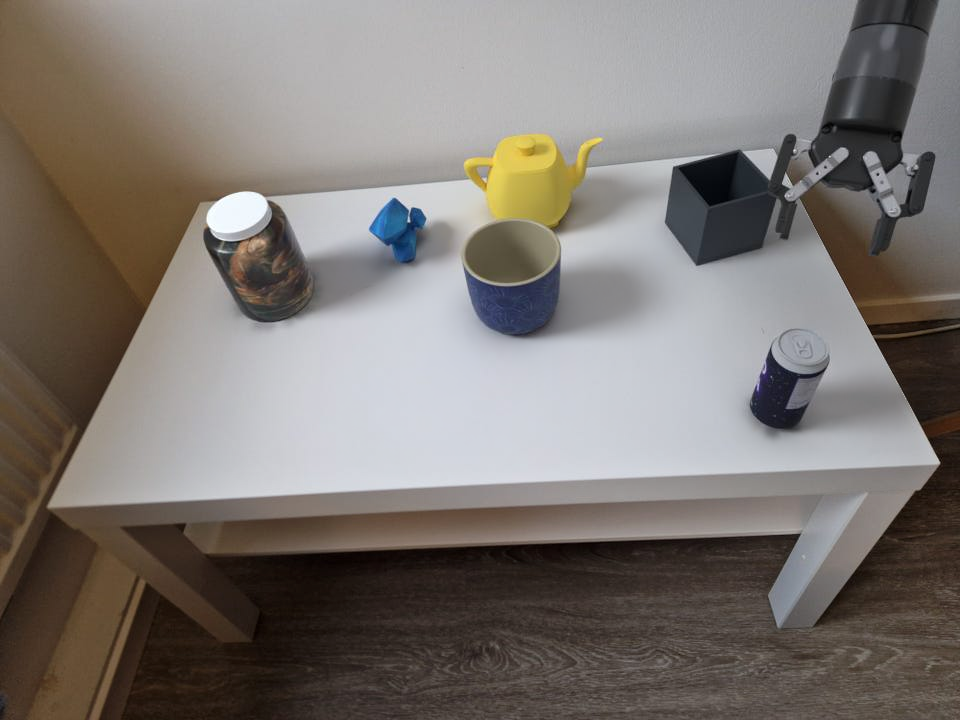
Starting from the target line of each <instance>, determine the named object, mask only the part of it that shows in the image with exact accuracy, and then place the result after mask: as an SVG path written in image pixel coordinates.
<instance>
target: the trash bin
mask: <svg viewBox="0 0 960 720" xmlns="http://www.w3.org/2000/svg"><path fill="white" fill-rule="evenodd" d="M769 182H770V178H768V176H766V175H765V174H764V173H763V171H761V169H760V168H759V167H758V166H757V165H756V164H755V163H754V162H753V161H752V160H751V159H750V158H749V157H748V156H747V155H746V154H745V153H744V151H742V150H741V149H736V150H731V151H727V152H723V153H720V154H715V155H712V156H708V157H705V158H701V159H697V160H694V161H690V162H685V163H681V164H677V165H674V166H672V171H671V177H670V184H669V190H668V191H669V192H668V197H667V203H666V204H667V205H666V212H665V219H664V224H665V225H666V227H667V228H668V229H669V231H670V232H671V233H672V235H673V236H674V237H675V239H676V240H677V241H678V243H679V244H680V245H681V247H682V249H683V250H684V251H685V252H686V253H687V255H688V256H689V258H690V259H691V261H692V262H693V263H694V265H695V266H700V265H704V264H708V263H712V262H714V261H718V260H722V259H726V258H729V257H733V256H737V255H739V254H740V255H741V254H743V253H747V252H751V251H755V250H758V249H762V248H763V246H764V242H765V240H766V237H767V233H768V229H769V226H770V223H771V219H772V216H773V213H774V209H775V207H776V203H777V200H778V198H776V197H774V196H771V195H769V194H768V193H767V188H768V185H769Z"/></svg>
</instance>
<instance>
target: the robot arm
mask: <svg viewBox="0 0 960 720" xmlns="http://www.w3.org/2000/svg"><path fill="white" fill-rule="evenodd" d="M940 2H941V0H857V1H856V4H855V8H854V11H853V15H852V18H851V22H850V26H849V29H848V35H847V37H846V40H845V42H844V45H843V48H842V50H841V52H840V54H839V58H838V60H837V63H836V67H835V71H834V72H833V74H832V78H831V86H830V89H829V92H828V96H827V100H826V103H825V107H824V110H823V114H822V118H821V121H820V125H819V128H818V132H817V135H816V137H815V138H814V139H812V140H809V139H803V138H798V137H797V135H795V134H793V133H788V134H786V135H785V136H784V137H783V141H782V143H781V145H780V146H781V147H780V149H779V151H778V155H777V158H776V161H775V164H774V167H773V169H772V173H771V175H770V178H769V180H770V182H769V185H768V188H767V193H768V194H769V195H771V196H774V197H776V198H777V200H779V201H780V209H779V213H778V216H777V219H776V224H775V227H774V230H775V234H777V235H779V239H778V240H779V241H783V242H787V241H788V239H789V236H790V233H791V229H792V225H793V221H794V218H795V215H796V211H797V208H798V203H797V200H799V199H800V198H802V196H804V195H805V194H806V193H808V192H809V191H810V190H811V189H813V188H814V187H815V186H816V185H817V184H819V183H822V184H823V185H824V186H825V187H826V188H829V189H840V188H841V189H842V188H844V189H846V190H848V191H851V192H857V193H860V192H863V191H866V190H867V192H868V194H869V195H870V198H871V200H872V201H873V202H874V203H875V206H876V207H877V209H878V212H879V213H880V217H879V218H878V219H877V220H876V223H875V227H874V231H873V232H872V233H873V234H872V236H871V240H870V244H869V247H868V251H867V257H879V255H880V254H881V253H883V252H886V251H887V250H888V248H889V247H890V244H891V240H892V238H893V235H894V231H895V228H896V224H897V222H898V220H899V219H902V218H903V219H904V218H912V217H914V216H916V215H919V214H921V213H923V211H924V209H925V205H926V200H927V196H928V193H929V187H930V183H931V178H932V174H933V171H934V167H935V162H936V159H937V158H936V154H935V153H934V152H933V151H930V150H929V151H925V152H923V153H915V152H904V151H903V147H902V140H903V137H904V133H905V131H906V127H907V124H908V123H907V122H908V120H909V117H910V113H911V110H912V107H913V103H914V100H915V97H916V93H917V89H918V88H919V87H918V86H919V83H920V79H921V77H922V73H923V69H924V65H925V61H926V57H927V55H926V54H927V47H928V43H929V38H930V34H931V31H932V28H933V26H934V25H933V24H934V21H935V18H936V14H937V10H938V9H939V5H940ZM803 153H807V154H808V157H809V160H810V161H811V164H812V165H813V169H812V170H811V171H810V172H808V173H807V174H806V175H805V176H804V177H803V178H802V179H800V180H799V181H798V182H797V183H796V184H794V185H793V186H792V187H791V188H790V187H788V186H786V185H784V184H783V182H784V179H785V176H786V173H787V170H788V168H789V165H790V161H796V160H798V159H799V158H800V156H801V154H803ZM899 165H902V166H903V167H904V174H905V176H907V177H910V179H909V184H908V188H907V193H906V197H905V200H904V203H901V204H899V202H898V200H897V198H896V196H895V194H894V188H893V186H892V184H891V182H890V180H889V177H888V174H889V173H890V172H892V171H893V170H894V169H895V168H896V167H898V166H899Z"/></svg>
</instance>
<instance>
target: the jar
mask: <svg viewBox="0 0 960 720" xmlns="http://www.w3.org/2000/svg"><path fill="white" fill-rule="evenodd" d="M202 233H203V234H202V239H203V243H204V247H205V249H206V251H207V252H208V255H209V257H210V259H211V260H212V263H213V264H214V266H215V268H216V270H217V272H218V273H219V276H220V277H221V280H223V282H224V285H225V286H226V288H227V290H228V291H229V293H230V295H231V297H232V298H233V301H234V302H235V304H236V306H237V307H238V309H239V310H240V312H241V313H242V314H243V315H244V316H245V317H246V318H248V319H251V320H252V321H256V322H261V323H271V322H278V321H280V320H285V319H286V318H289V317H291V316H293V315H294V314H296V313H298V312H299V311H301V309H303V308H304V307H305V306H306V305H307V304H308V302H309V301H310V299H311V298H312V296H313V294H314V289H315V281H314V277H313V275H312V273H311V270H310V267H309V265H308V262H307V260H306V257H305V255H304V253H303V250H302V248H301V246H300V242H299V241H298V238H297V235H296V234H295V231H294V229H293V226H292V225H291V223H290V220H289V218H288V216H287V214H286V212H285V211H284V209H283V208H282V207H281V206H280V205H279V204H277V203H276V202H274V201H273V200H270V199H266V197H265V196H264V195H262V194H261V193H259V192H255V191H238V192H234V193H231V194H228V195H226V196H224V197H222V198H220V199H219V200H218V201H216V202H215V203H214V204H213V205H212V206H211V207H210V208H209V210H208V211H207V214H206V224H205V226H204V228H203V232H202Z"/></svg>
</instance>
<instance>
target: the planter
mask: <svg viewBox="0 0 960 720" xmlns="http://www.w3.org/2000/svg"><path fill="white" fill-rule="evenodd" d="M460 256H461V263H462V268H463V272H464V277H465V282H466V286H467V291H468V294H469V298H470V301H471V305H472V307H473V310H474V313H475V315H476V316H477V317H478V319H479V320H480V321H481V322H482V324H484V325H485V326H486V327H487V328H489V329H491V330H492V331H494V332H497V333H500V334H505V335H521V334H527V333H530V332H533V331H536V330H537V329H539V328H541V327H543V325H545V324H546V323H547V322H548V321H549V320H550V319H551V317H552V316H553V314H554V313H555V310H556V308H557V305H558V301H559V295H560V289H561V288H560V287H561V265H562V264H561V263H562V244H561V241H560V239H559V237H558V235H557V234H556V233H555V231H554V230H552V228H548V227H547V226H545V225H543V224H541V223H539V222H536V221H533V220H529V219H523V218H508V219H501V220H493V221H490V222H488V223H486V224H484V225H481V226H480V227H479V228H477V229H476V230H475V231H473V232H472V233H471V234H470V235H469V236H468V237H467V238H466V240H465V242H464V243H463V245H462V249H461V255H460Z"/></svg>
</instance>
